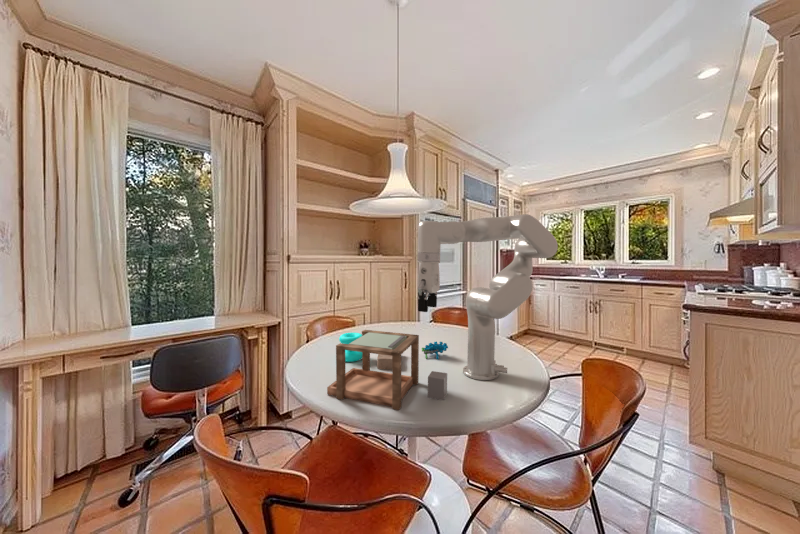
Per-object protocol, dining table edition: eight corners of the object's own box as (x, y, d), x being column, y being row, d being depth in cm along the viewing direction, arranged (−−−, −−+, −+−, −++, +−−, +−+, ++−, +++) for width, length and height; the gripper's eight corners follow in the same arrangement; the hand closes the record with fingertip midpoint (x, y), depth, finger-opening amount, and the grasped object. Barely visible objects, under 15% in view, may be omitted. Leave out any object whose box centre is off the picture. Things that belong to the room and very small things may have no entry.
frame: (418, 382, 108) (418, 335, 107) (398, 410, 89) (399, 353, 88) (354, 373, 116) (354, 328, 115) (324, 396, 97) (324, 344, 96)
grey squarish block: (447, 393, 100) (447, 373, 100) (443, 400, 95) (444, 379, 95) (431, 390, 102) (431, 371, 101) (427, 397, 97) (427, 377, 97)
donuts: (336, 333, 133) (359, 330, 137) (336, 356, 133) (359, 353, 138) (342, 339, 124) (366, 336, 128) (342, 364, 124) (366, 360, 129)
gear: (447, 349, 137) (447, 338, 130) (449, 362, 133) (449, 352, 126) (422, 352, 138) (420, 341, 130) (423, 365, 134) (422, 355, 127)
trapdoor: (406, 339, 105) (406, 335, 105) (391, 352, 92) (391, 347, 92) (368, 335, 110) (368, 331, 110) (348, 347, 97) (348, 342, 97)
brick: (398, 370, 119) (398, 358, 119) (376, 370, 119) (376, 357, 119) (399, 355, 136) (399, 345, 136) (380, 355, 136) (380, 344, 136)
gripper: (431, 259, 96) (430, 314, 97) (446, 258, 112) (445, 306, 113) (408, 258, 99) (407, 312, 100) (426, 257, 115) (425, 304, 116)
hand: (427, 309), depth 106 cm, fingers open, 9 cm apart
